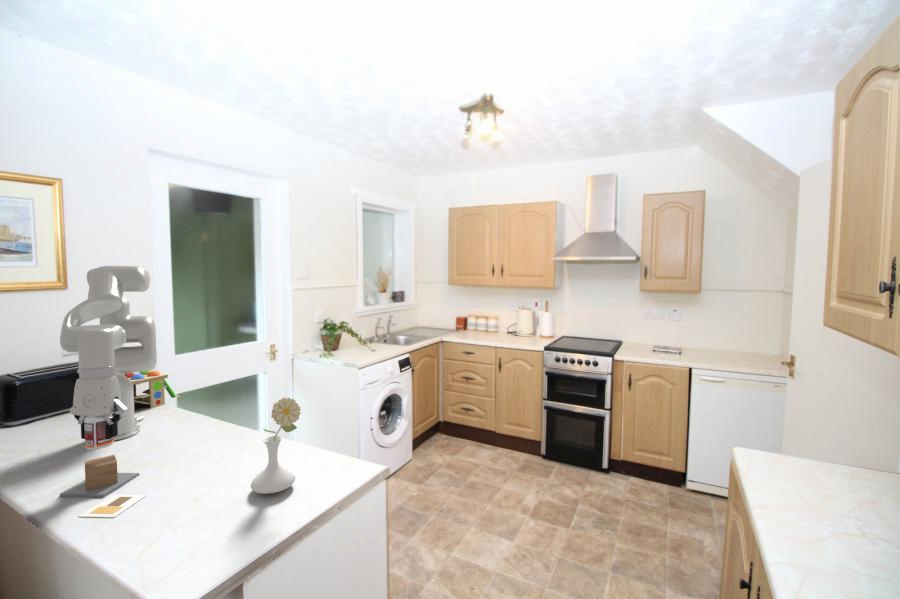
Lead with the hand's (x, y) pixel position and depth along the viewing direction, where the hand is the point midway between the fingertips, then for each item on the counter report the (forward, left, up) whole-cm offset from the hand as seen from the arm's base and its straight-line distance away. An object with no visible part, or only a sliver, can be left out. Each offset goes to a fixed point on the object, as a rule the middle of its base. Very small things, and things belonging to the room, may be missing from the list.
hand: (99, 436), depth 115 cm
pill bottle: (0, 0, -3) cm, 3 cm away
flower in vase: (-1, +49, -14) cm, 51 cm away
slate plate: (0, 0, -14) cm, 14 cm away
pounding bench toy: (-67, -36, -14) cm, 77 cm away
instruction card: (+10, +12, -14) cm, 21 cm away
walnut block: (0, 0, -13) cm, 13 cm away
